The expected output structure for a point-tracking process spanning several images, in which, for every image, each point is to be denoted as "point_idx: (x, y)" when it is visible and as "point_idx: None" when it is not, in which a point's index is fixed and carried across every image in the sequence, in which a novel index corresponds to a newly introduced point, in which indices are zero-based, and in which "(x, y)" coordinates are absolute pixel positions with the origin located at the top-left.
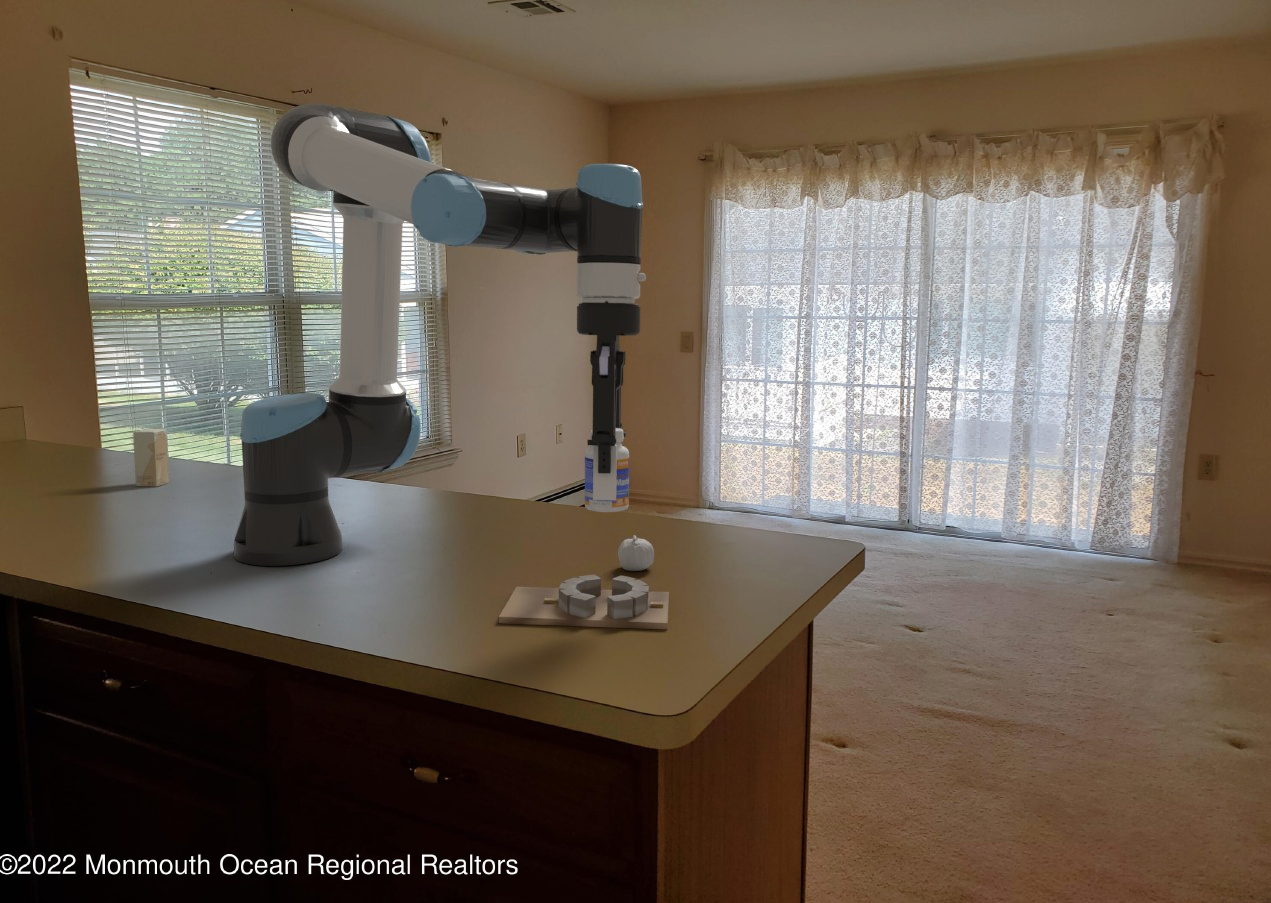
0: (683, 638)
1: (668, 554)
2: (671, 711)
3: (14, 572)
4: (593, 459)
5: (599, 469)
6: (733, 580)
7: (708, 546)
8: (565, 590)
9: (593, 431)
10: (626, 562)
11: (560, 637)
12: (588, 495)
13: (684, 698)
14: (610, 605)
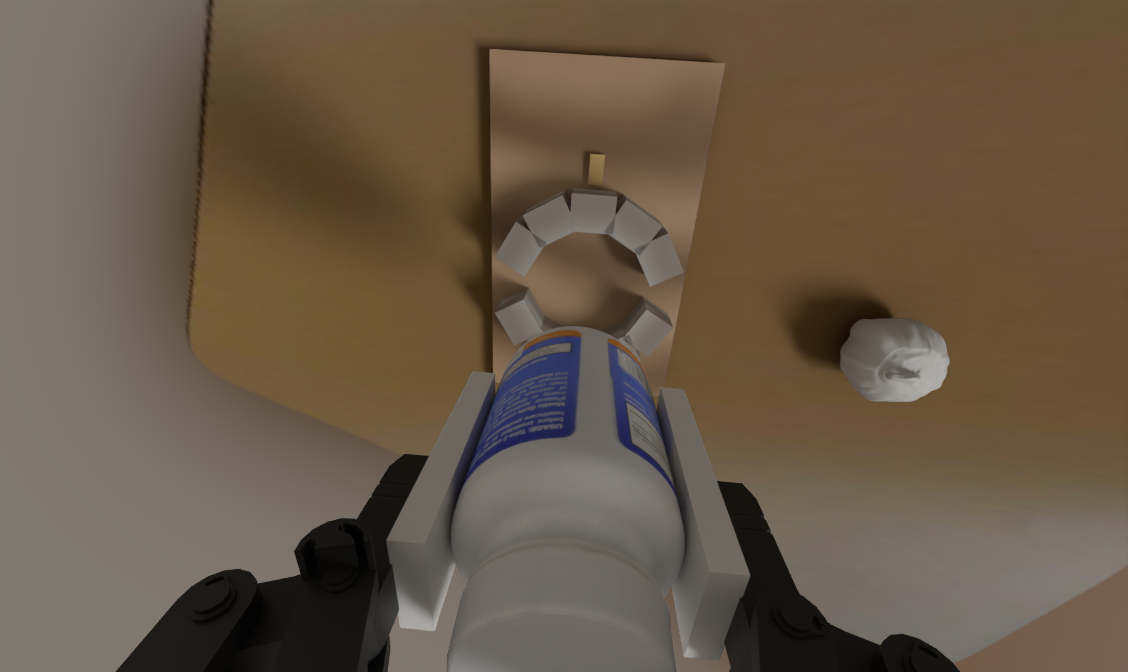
0: (460, 394)
1: (971, 412)
2: (204, 359)
3: None
4: (418, 478)
5: (391, 470)
6: (755, 494)
7: (1009, 487)
8: (558, 210)
9: (145, 646)
10: (853, 334)
11: (431, 200)
12: (523, 358)
13: (247, 376)
14: (512, 300)
